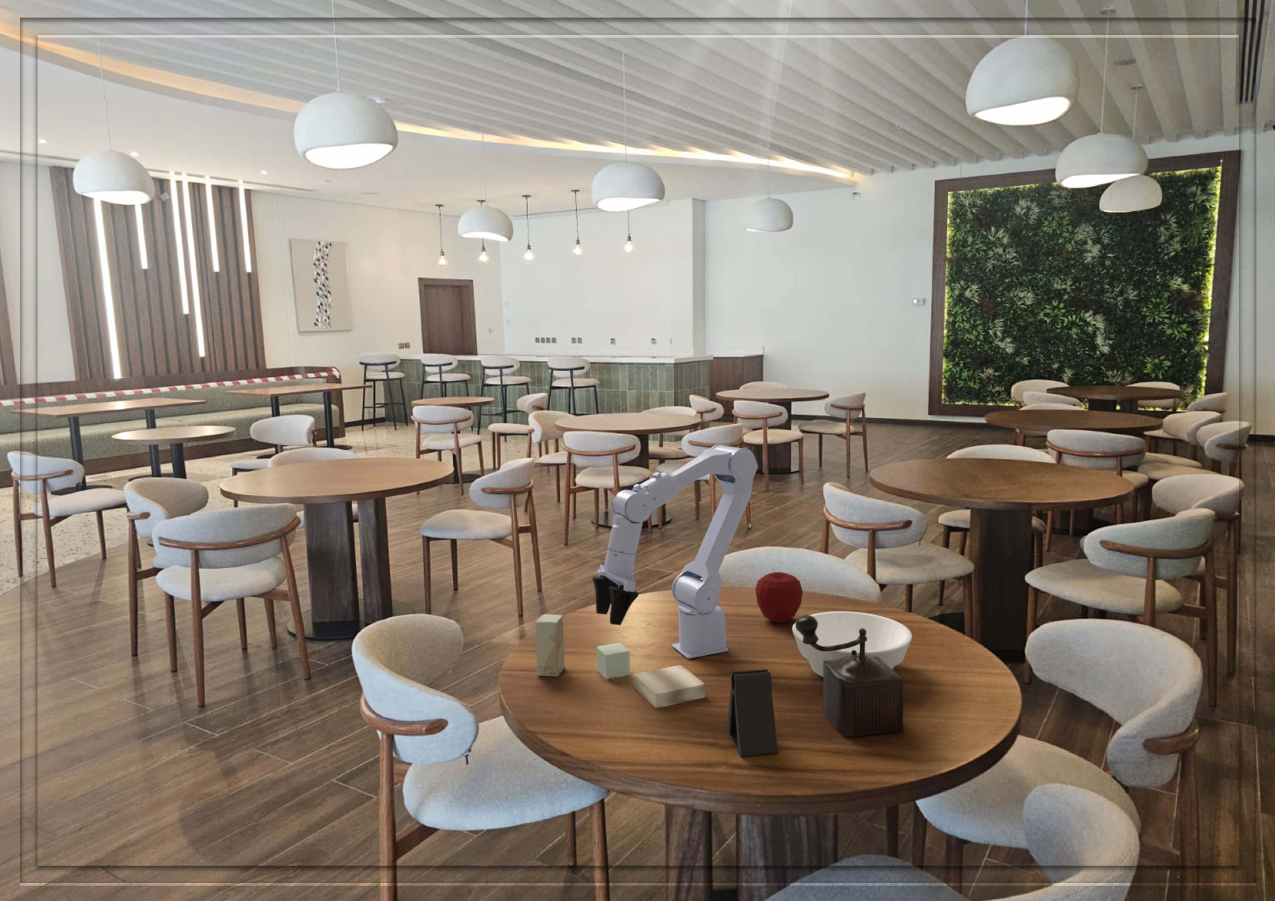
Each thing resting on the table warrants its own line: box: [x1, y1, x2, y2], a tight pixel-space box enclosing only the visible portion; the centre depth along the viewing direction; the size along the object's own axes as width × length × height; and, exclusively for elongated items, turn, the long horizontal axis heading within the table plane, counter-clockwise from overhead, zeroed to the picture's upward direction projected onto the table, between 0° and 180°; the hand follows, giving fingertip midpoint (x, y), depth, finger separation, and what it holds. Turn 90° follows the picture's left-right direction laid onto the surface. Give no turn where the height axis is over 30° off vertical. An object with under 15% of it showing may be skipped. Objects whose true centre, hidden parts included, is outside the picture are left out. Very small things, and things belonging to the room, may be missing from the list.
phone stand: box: [726, 668, 779, 758], centre depth 130 cm, size 9×6×12 cm, turn 7°
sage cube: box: [596, 642, 631, 680], centre depth 160 cm, size 5×5×5 cm
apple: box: [754, 571, 804, 624], centre depth 186 cm, size 11×11×12 cm
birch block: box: [632, 664, 706, 709], centre depth 150 cm, size 10×10×3 cm
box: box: [535, 613, 565, 677], centre depth 161 cm, size 5×4×11 cm
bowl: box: [791, 611, 913, 678], centre depth 157 cm, size 22×22×8 cm
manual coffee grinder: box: [795, 614, 904, 739], centre depth 136 cm, size 16×11×18 cm
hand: (608, 618), depth 159 cm, fingers open, 7 cm apart
